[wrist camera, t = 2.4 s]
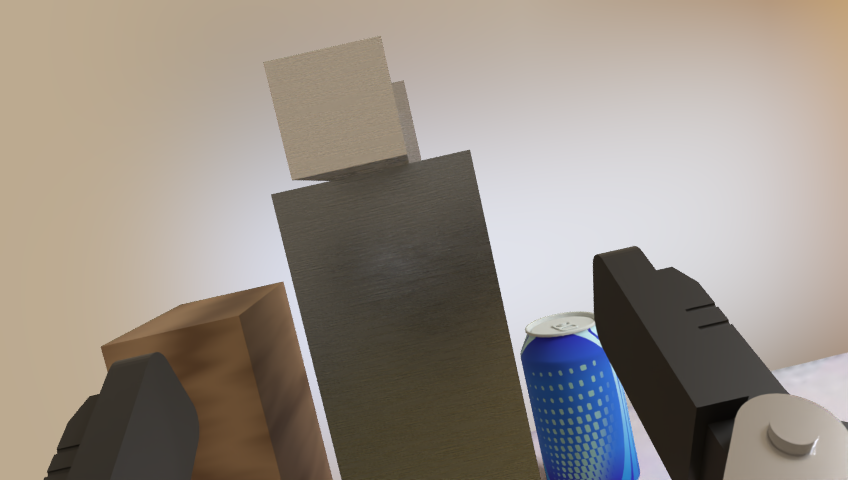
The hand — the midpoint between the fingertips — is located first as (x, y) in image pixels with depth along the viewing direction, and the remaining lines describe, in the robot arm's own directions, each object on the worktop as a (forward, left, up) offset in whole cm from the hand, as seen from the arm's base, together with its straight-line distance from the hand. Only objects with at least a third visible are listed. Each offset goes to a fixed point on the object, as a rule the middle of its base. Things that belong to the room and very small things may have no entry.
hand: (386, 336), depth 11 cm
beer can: (-11, -43, -29) cm, 53 cm away
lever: (+1, -19, +4) cm, 19 cm away
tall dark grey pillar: (+1, -23, -28) cm, 37 cm away
